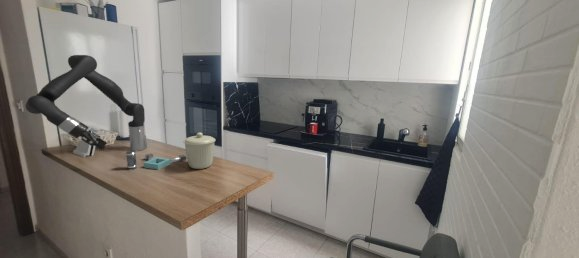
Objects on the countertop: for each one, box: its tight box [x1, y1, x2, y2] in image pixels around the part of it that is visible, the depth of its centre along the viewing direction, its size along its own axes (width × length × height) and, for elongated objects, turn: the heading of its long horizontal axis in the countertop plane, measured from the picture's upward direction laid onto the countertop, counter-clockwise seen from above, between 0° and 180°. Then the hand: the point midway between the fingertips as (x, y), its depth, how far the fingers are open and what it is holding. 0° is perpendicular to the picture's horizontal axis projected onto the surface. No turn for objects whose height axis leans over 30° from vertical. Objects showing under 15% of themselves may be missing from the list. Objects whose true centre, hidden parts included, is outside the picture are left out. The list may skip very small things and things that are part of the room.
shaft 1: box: [144, 153, 155, 161], centre depth 150 cm, size 12×4×3 cm, turn 47°
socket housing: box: [143, 156, 172, 171], centre depth 143 cm, size 10×10×3 cm
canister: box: [183, 132, 216, 170], centre depth 143 cm, size 18×18×21 cm
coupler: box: [125, 150, 138, 171], centre depth 136 cm, size 5×5×10 cm
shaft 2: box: [169, 154, 188, 164], centre depth 150 cm, size 12×4×3 cm, turn 137°
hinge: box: [72, 139, 96, 158], centre depth 157 cm, size 17×5×10 cm, turn 61°
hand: (104, 146), depth 129 cm, fingers open, 8 cm apart
